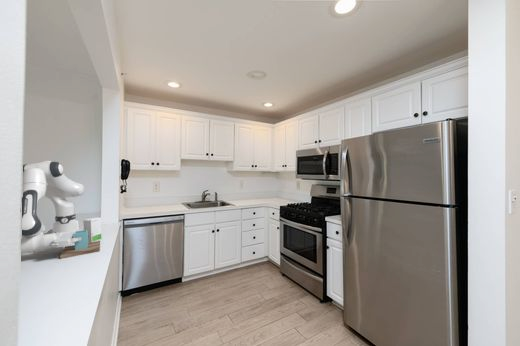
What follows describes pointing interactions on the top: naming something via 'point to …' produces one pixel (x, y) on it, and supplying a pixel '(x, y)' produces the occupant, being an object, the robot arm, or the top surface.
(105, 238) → the top surface
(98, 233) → the skincare box
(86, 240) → the teal pencil cup
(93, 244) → the base
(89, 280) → the top surface
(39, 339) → the top surface
